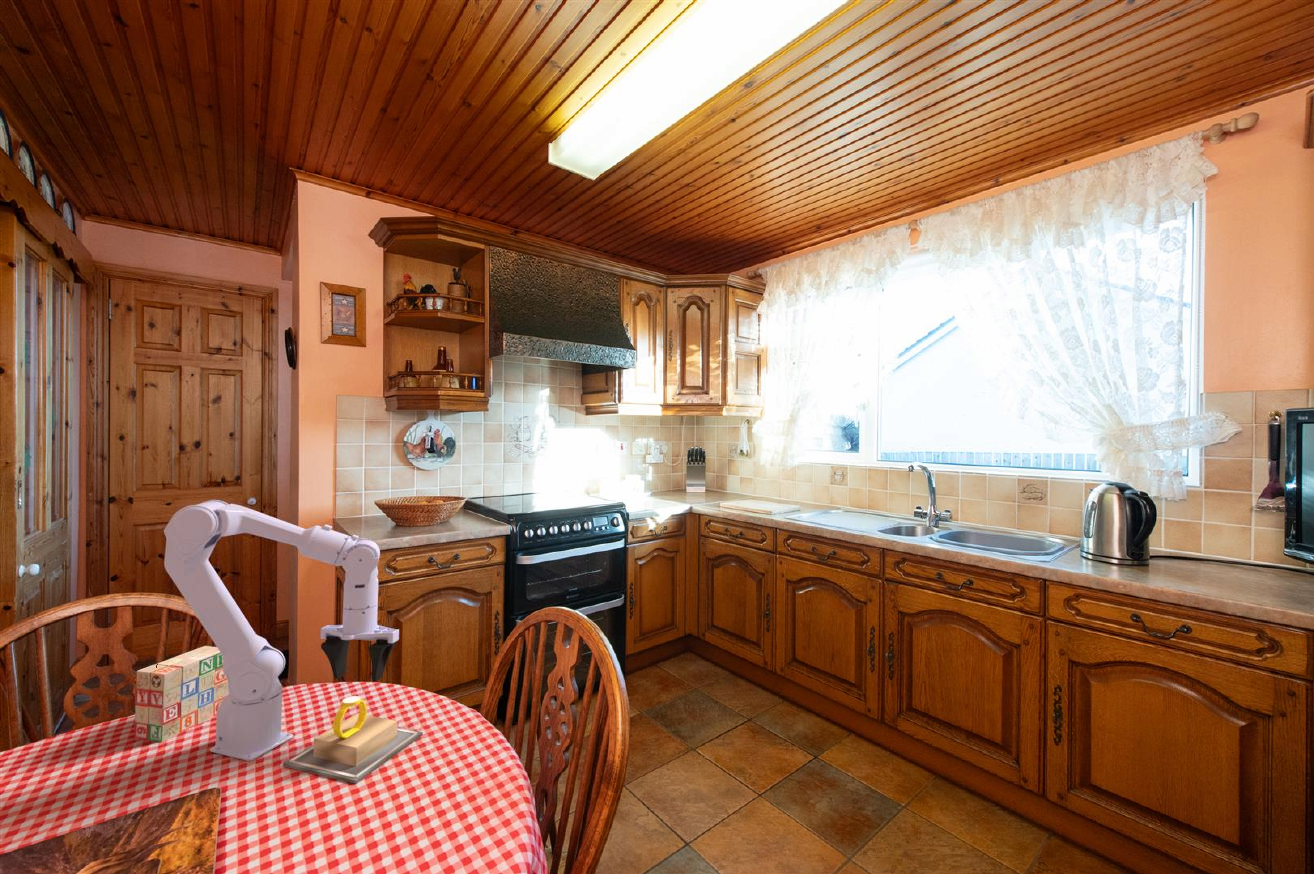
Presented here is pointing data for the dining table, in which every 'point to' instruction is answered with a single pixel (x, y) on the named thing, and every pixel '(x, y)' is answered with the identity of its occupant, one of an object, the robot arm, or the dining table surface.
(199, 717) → the stack of blocks
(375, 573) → the robot arm
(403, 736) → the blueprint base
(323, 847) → the dining table surface
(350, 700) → the watch
